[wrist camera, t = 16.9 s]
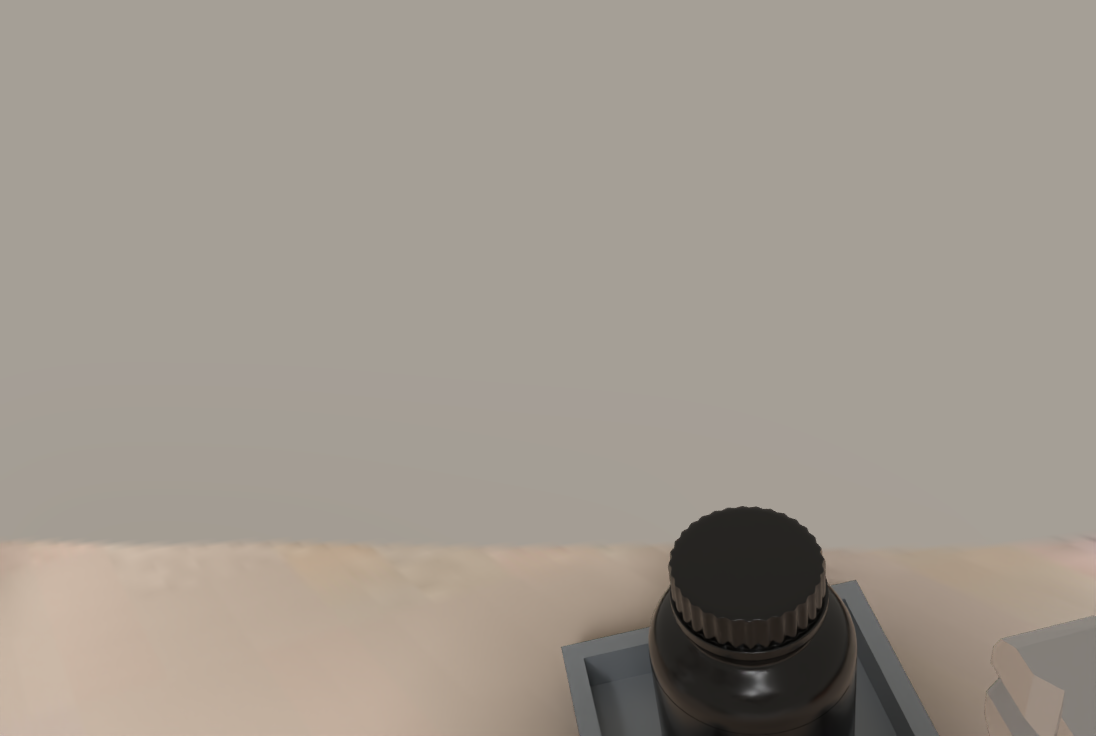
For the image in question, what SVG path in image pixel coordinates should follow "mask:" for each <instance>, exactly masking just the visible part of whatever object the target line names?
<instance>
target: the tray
mask: <svg viewBox="0 0 1096 736" xmlns="http://www.w3.org/2000/svg"><path fill="white" fill-rule="evenodd" d="M831 587H832V588H833V589H834V590H835V592H836V593H837V594H838V595H839V597H840V598H841V599H842V601H843V602H844V604H845V606H846V607H847V609H848V611H849V613H850V615H851V618H852V621H853V624H854V627H855V632H856V639H857V683H856V714H855V736H939V735H938V733H937V731H936V729H935V727H934V725H933V723H932V722H931V720H930V718H929V716H928V714H927V712H926V710H925V708H924V707H923V705H922V703H921V701H920V699H919V697H918V695H917V693H916V692H915V690H914V688H913V686H912V684H911V682H910V680H909V679H908V677H907V675H906V673H905V671H904V669H903V667H902V665H901V664H900V662H899V660H898V658H897V656H896V654H895V652H894V650H893V649H892V647H891V645H890V643H889V641H888V639H887V637H886V635H885V634H884V632H883V630H882V628H881V626H880V624H879V622H878V620H877V619H876V617H875V615H874V613H873V611H872V609H871V607H870V605H869V604H868V602H867V600H866V598H865V596H864V594H863V592H862V590H861V589H860V587H859V585H858V583H857V581H856V580H854V581H850V582H845V583H841V584H836V585H832V586H831ZM648 635H649V627H647V628H643V629H638V630H634V631H629V632H625V633H621V634H616V635H612V636H607V637H603V638H599V639H594V640H590V641H585V642H581V643H577V644H572V645H568V646H563V647H561V648H562V653H563V658H564V663H565V668H566V672H567V677H568V682H569V687H570V692H571V696H572V701H573V706H574V711H575V716H576V720H577V725H578V730H579V735H580V736H662V733H661V727H660V721H659V715H658V708H657V702H656V696H655V689H654V683H653V677H652V670H651V664H650V657H649V645H648Z"/></svg>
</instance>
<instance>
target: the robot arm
mask: <svg viewBox="0 0 1096 736" xmlns="http://www.w3.org/2000/svg"><path fill="white" fill-rule="evenodd" d="M991 664H992V666H993V667H994V669H995V671H996V672H997V674H998V676H999V677H1000V678H999V679H998V680H997V681H996V682H995V683H994V684H993V685H992V686H991V687H990V688H989V689H988V690H987V691H986V701H985V712H984V713H985V718H986V723H987V727H988V732H989V736H1096V616H1090V617H1086V618H1082V619H1078V620H1074V621H1070V622H1066V623H1062V624H1058V625H1054V626H1050V627H1046V628H1042V629H1038V630H1034V631H1030V632H1026V633H1022V634H1018V635H1014V636H1010V637H1006V638H1002V639H1000V640H999V641H998V642H997V643H996V644H995V645H994V646H993V652H992V658H991Z"/></svg>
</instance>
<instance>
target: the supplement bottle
mask: <svg viewBox="0 0 1096 736" xmlns="http://www.w3.org/2000/svg"><path fill="white" fill-rule="evenodd" d="M668 570H669V577H670V587H669V588H668V589H667V590H666V592H665V593H664V594H663V596H662V597H661V599H660V601H659V602H658V604H657V606H656V608H655V610H654V613H653V616H652V619H651V623H650V627H649V635H648V645H649V657H650V664H651V670H652V677H653V683H654V689H655V696H656V702H657V708H658V715H659V721H660V727H661V733H662V736H855V714H856V683H857V639H856V632H855V627H854V624H853V621H852V618H851V615H850V613H849V611H848V609H847V607H846V606H845V604H844V602H843V601H842V599H841V598H840V597H839V595H838V594H837V593H836V592H835V590H834V589H833V588H832V587H831V586H830V585H829V584H828V583H827V580H826V576H825V560H824V558H823V556H822V549H821V547H820V546H819V545H818V544H817V543H816V539H815V537H814V536H813V535H811V534H810V533H809V532H808V530H807V528H806V527H804V526H802V525H800V524H799V523H798V521H797V520H795V519H792V518H789V517H787V515H785V514H784V513H777V512H775V511H773V510H772V509H762V508H759V507H750V508H748V507H744V506H741V507H738V508H726V509H724V510H722V511H714V512H713V513H711V514H710V515H707V516H702V517H701V518H700V519H699V520H698V521H696V522H693V523H691V525H690V526H689V528H688V529H686V530H684V531H683V532H682V533H681V537H680V538H679V539H677V540H676V541H675V545H674V549H672V551H671V552H670V562H669V565H668Z"/></svg>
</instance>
